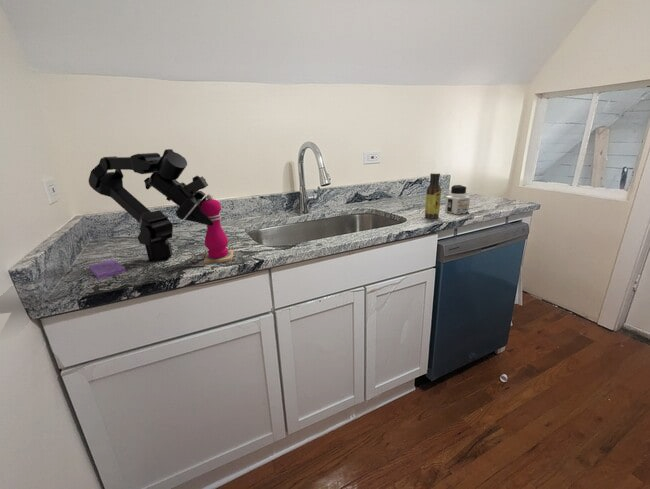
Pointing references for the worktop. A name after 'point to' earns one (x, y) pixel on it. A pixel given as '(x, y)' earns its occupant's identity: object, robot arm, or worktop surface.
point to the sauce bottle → (433, 197)
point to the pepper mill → (214, 229)
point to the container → (457, 200)
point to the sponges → (106, 268)
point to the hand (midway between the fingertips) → (215, 221)
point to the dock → (222, 259)
